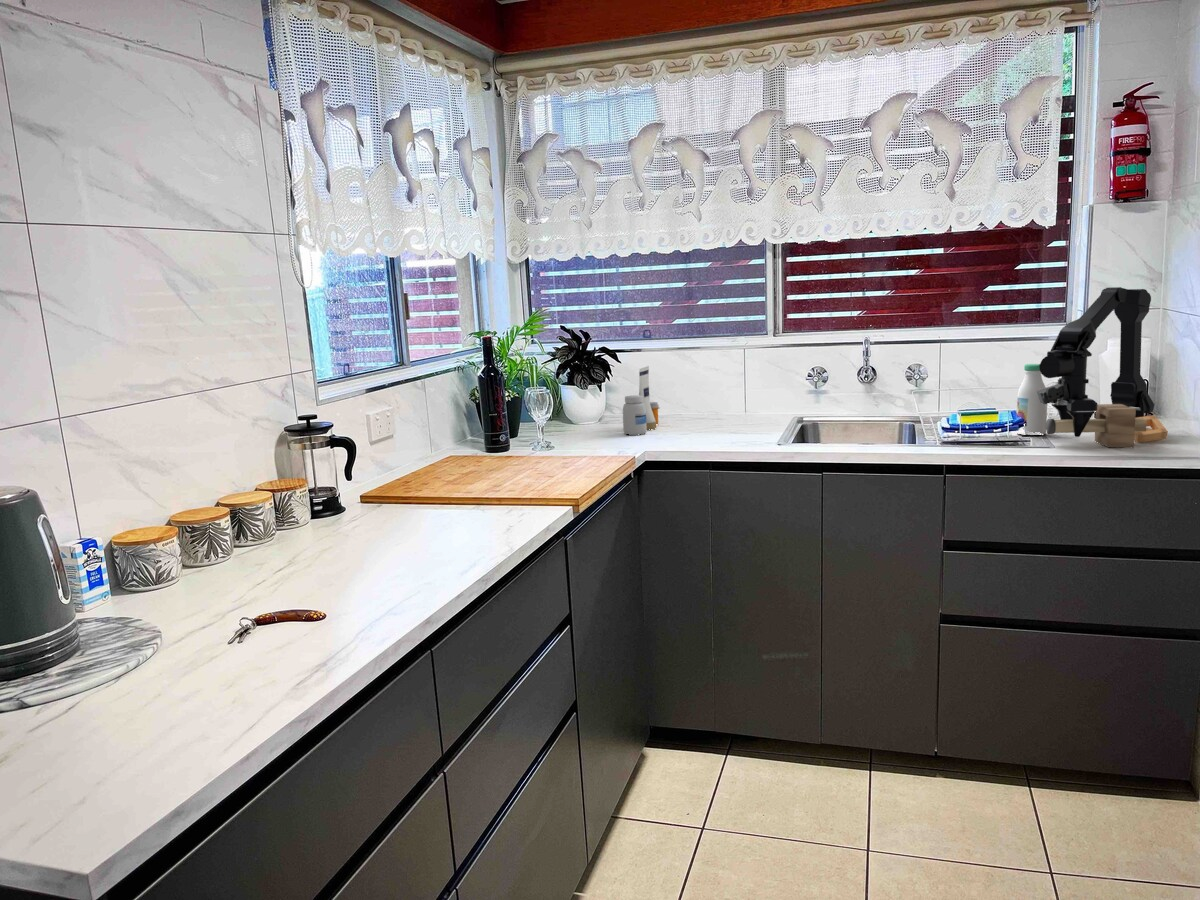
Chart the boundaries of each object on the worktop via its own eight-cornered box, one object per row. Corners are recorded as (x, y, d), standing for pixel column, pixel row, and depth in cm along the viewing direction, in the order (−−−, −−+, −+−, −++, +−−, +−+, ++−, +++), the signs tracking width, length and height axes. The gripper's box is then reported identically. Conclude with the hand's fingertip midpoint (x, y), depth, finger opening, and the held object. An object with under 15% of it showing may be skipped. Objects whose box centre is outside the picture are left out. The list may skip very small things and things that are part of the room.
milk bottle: (1045, 432, 261) (1048, 362, 257) (1046, 437, 254) (1049, 365, 250) (1016, 432, 264) (1018, 363, 260) (1015, 436, 257) (1018, 365, 254)
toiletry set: (642, 436, 288) (640, 371, 284) (620, 435, 290) (617, 371, 287) (665, 424, 311) (663, 364, 307) (644, 424, 313) (642, 364, 310)
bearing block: (1094, 441, 244) (1096, 404, 242) (1118, 441, 243) (1120, 404, 241) (1108, 448, 234) (1110, 409, 233) (1133, 447, 233) (1135, 409, 231)
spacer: (1137, 435, 238) (1125, 419, 244) (1136, 442, 239) (1123, 426, 245) (1167, 431, 237) (1154, 415, 243) (1166, 438, 238) (1152, 422, 244)
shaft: (1045, 432, 243) (1046, 417, 242) (1140, 431, 239) (1141, 416, 238) (1050, 435, 239) (1051, 420, 238) (1146, 433, 235) (1147, 418, 234)
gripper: (1030, 372, 248) (1028, 428, 250) (1051, 379, 230) (1049, 440, 232) (1074, 371, 246) (1071, 428, 248) (1099, 378, 228) (1096, 439, 230)
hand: (1071, 433), depth 240 cm, fingers open, 9 cm apart
